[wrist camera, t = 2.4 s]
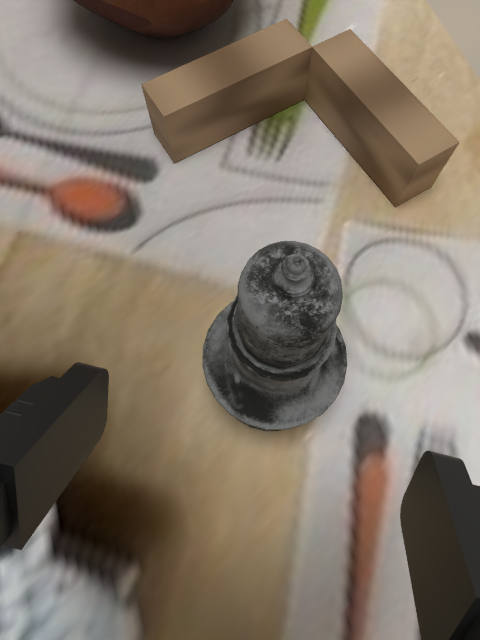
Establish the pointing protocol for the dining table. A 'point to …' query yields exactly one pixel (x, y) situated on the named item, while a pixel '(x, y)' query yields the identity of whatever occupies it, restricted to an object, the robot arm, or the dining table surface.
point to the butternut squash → (159, 14)
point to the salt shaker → (279, 340)
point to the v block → (320, 94)
